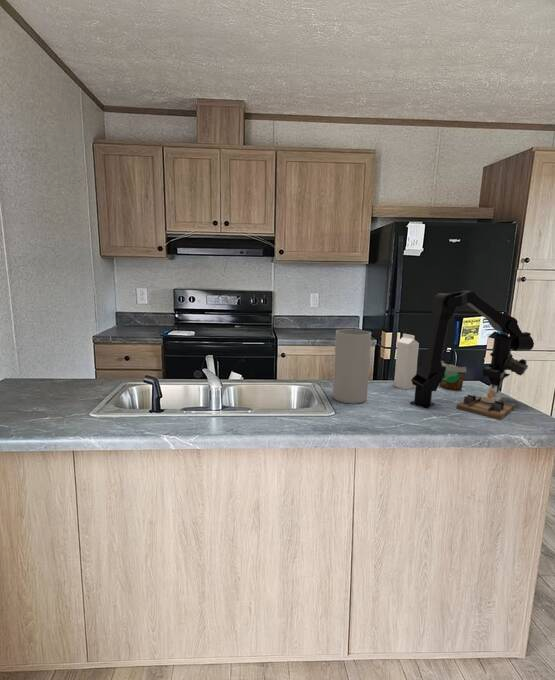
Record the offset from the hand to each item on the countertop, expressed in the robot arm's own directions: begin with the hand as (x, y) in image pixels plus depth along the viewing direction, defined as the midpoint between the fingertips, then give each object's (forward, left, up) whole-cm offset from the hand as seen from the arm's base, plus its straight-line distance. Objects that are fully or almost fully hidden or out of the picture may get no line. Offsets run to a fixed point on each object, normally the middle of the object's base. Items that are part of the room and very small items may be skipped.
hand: (496, 392), depth 146 cm
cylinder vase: (-38, +38, -4) cm, 54 cm away
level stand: (-11, 0, -4) cm, 12 cm away
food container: (+5, +20, -4) cm, 21 cm away
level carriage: (-6, 0, -2) cm, 6 cm away
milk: (-8, +32, -4) cm, 33 cm away
